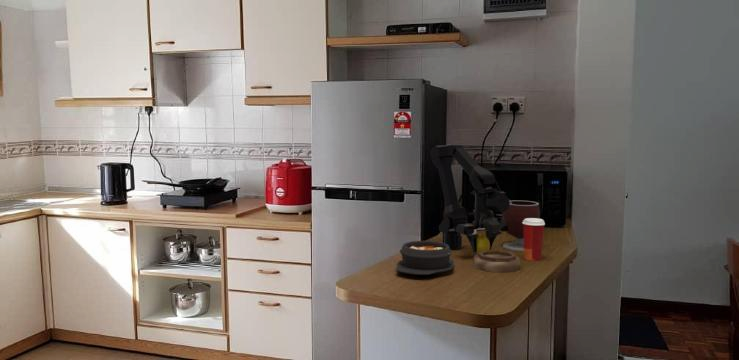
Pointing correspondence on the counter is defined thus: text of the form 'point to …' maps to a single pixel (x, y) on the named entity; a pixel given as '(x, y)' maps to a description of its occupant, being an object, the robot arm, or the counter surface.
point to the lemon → (482, 243)
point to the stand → (496, 261)
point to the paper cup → (533, 238)
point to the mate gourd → (519, 221)
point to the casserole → (425, 258)
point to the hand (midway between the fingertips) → (481, 251)
